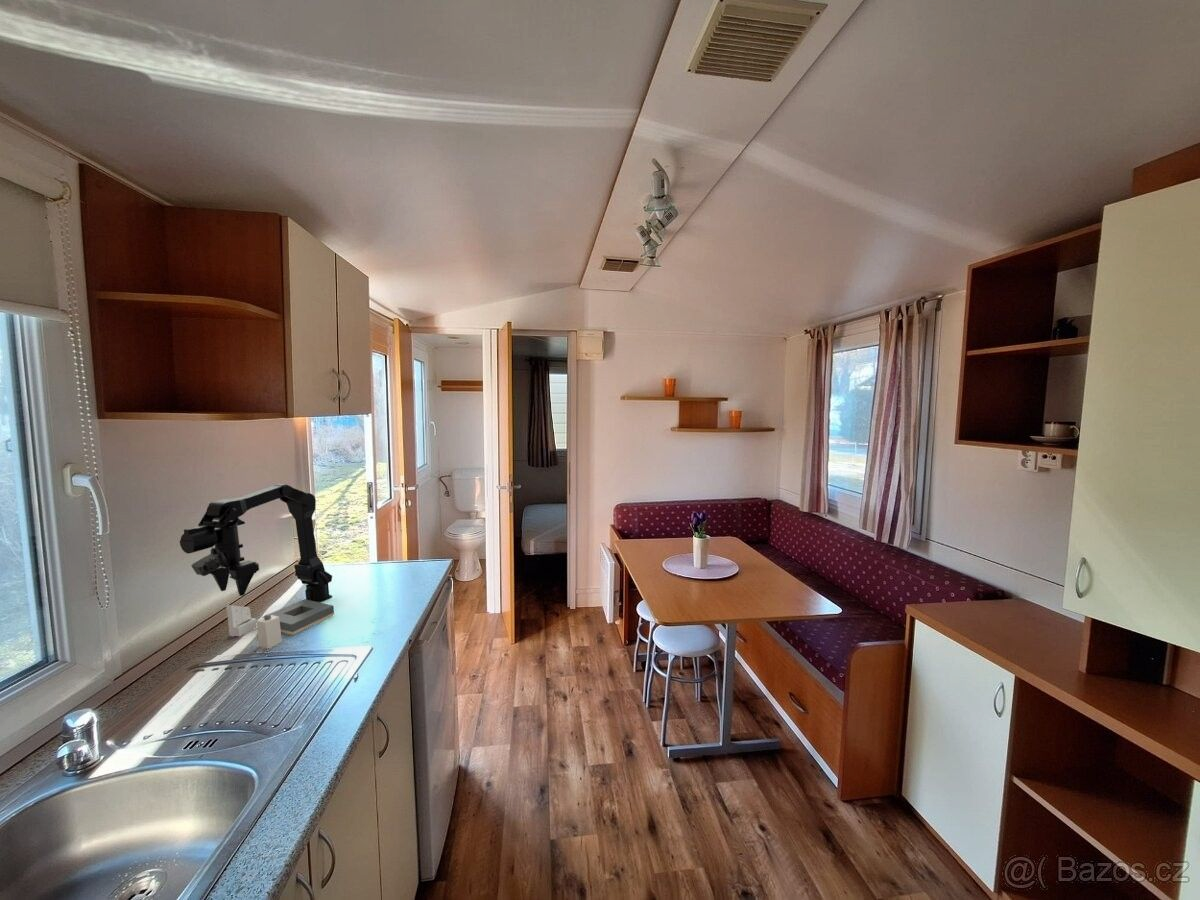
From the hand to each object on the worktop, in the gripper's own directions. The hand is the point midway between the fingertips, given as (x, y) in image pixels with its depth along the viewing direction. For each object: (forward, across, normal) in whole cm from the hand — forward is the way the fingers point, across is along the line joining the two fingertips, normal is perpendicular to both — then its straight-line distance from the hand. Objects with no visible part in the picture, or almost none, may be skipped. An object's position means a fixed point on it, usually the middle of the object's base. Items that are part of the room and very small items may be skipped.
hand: (232, 593), depth 141 cm
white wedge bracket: (+15, -2, +3) cm, 15 cm away
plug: (+14, +14, +1) cm, 20 cm away
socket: (+14, +7, +14) cm, 21 cm away
